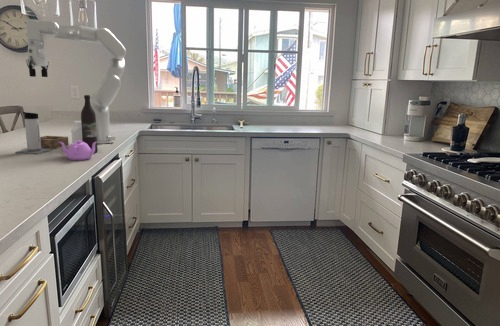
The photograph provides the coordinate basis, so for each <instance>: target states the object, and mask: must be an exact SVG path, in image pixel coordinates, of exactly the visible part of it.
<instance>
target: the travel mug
mask: <svg viewBox="0 0 500 326" xmlns="http://www.w3.org/2000/svg"><path fill="white" fill-rule="evenodd" d="M22 114H23V115H24V117H23V118H24V127H25V128H24V129H25V138H26V147H27V148H26V149H27V150H28V151H40V150H41V140H40V137H41V131H40V120H39V119H40V118H39V114H38V113H36V112H25V111H23V113H22Z"/></svg>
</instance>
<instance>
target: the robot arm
mask: <svg viewBox="0 0 500 326" xmlns="http://www.w3.org/2000/svg"><path fill="white" fill-rule="evenodd" d="M25 26H26V35H27V36H26V37H27V58H26V59H25V64H26V66H27V68H28V73H29V77H35V78H36V77H37V74H36V73H37V72H36V69H35V68H36V67H37V66H38V67H40V68H41V69H40V73H41V77H43V78H48V75H49V74H48V68H49V64H50V63H49V62H50V61H49V60H48V56H47V50H46V47H45V39H44V35H45V36H47V37H48V38H49V37H50V38H55V39H62V40H71V41H75V42H85V43H90V44H91V43H92V44H96V45H97V44H98V45H102V46H104V47H105V48H106V50H107V55H108V58H109V59H110V62H109V63H110V64H109V67H108V68H107V70H106V72H105V73H104V75H103V77H102V78H101V81H100V85H101V86H100V88H99V89H98V90H94V91H93V92H92V94H91V95H90V104H91V106H92V108H93V110H94V112H95V115H96V130H97V141H98V142H97V145H98V144H99V145H101V144H111V143H114V141H117V137H116V136H113V134H111V121H110V118H111V117H110V108H109V106H111V104H112V103H113V101H114V100H115V98H116V96H117V95H118V92H119V91H120V89H121V87H122V86H121V85H122V81H121V78H122V75H123V74H124V73H125V70H126V60H125V58H126V55H127V49H126V47H125V46H124V45H123V44H122V43H121V41H120V40H119V39H118V38H117V37H116V36H115V35H114V34H113V32H111V31H110V30H109V29H108V28H105V27H100V28H98V27H97V28H96V27H91V26H85V25H80V24H79V25H77V24H75V25H64V24H58V22H55V21H54V20H39V19H35V18H30V19H27V20H26V21H25Z"/></svg>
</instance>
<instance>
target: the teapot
mask: <svg viewBox="0 0 500 326" xmlns="http://www.w3.org/2000/svg"><path fill="white" fill-rule="evenodd" d="M76 142H77V143H72V142H71V143H70V146H68V148H66V147H67V146H65V144H64V143H63V142H59V143H61V144H62V147H61V148H62V150H63V153H64V154H65V155H66V157H67V158H68V160H70V161H85V160H89V159H91V158H92V156H93V155H94V154H95V153H94V152H95V144H96V143H97V142H98V141H97V142H94V143H93V145H92V149H90V147H89V146H88V144H87V143H85V142H81V141H80V140H78V141H76Z"/></svg>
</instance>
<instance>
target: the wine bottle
mask: <svg viewBox="0 0 500 326" xmlns="http://www.w3.org/2000/svg"><path fill="white" fill-rule="evenodd" d="M83 98H84V104H83V108H81V113H80V121H81V126H82V141H83V142H85V143H87V144H88V146H89V147H90V149H92V145H93V143H94V142H97V130H96V115H95V112H94V110H93V108H92V104H91V95H90V94H84V96H83ZM97 153H98V144H97V143H96V144H95V152H94V154H97Z"/></svg>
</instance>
